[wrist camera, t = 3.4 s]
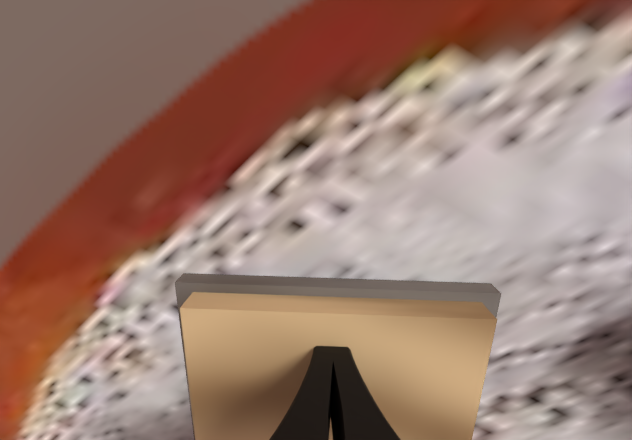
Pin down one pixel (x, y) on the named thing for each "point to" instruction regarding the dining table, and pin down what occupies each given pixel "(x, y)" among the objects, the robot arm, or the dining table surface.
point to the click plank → (344, 331)
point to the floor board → (333, 290)
